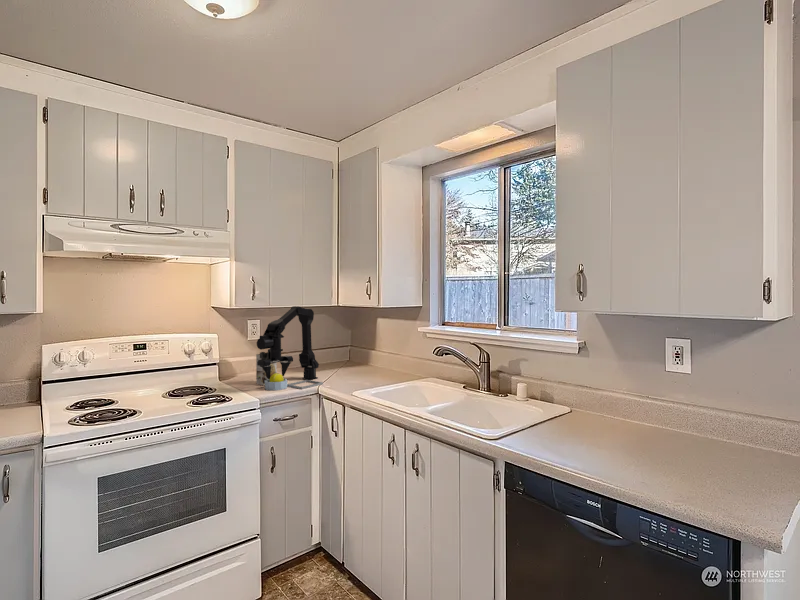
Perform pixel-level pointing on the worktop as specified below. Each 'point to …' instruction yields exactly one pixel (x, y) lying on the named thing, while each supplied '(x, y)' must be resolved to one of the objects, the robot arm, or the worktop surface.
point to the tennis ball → (276, 378)
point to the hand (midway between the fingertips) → (275, 377)
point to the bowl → (275, 385)
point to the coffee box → (261, 373)
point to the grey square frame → (304, 382)
